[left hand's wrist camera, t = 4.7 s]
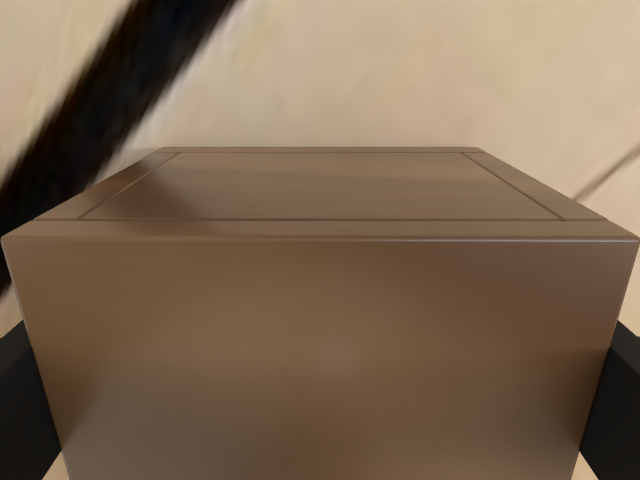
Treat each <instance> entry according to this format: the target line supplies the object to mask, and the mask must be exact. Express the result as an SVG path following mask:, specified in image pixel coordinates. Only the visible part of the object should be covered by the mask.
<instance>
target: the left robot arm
mask: <svg viewBox="0 0 640 480" xmlns="http://www.w3.org/2000/svg"><path fill="white" fill-rule="evenodd" d="M579 451H580V453H581V454H582V456H583V457H584V459H585V460H586V462H587V463H588V465H589V466H590V468H591V469H592V471H593V472H594V474H595V475H596V477H597V478H598V480H640V337H637V336H636V335H635V334H633V333H632V332H631V331H630V330H629V329H628V328H627V327H625V326H624V325H623V324H622V323H621V322H620V321H618V320H617V324H616V327H615V330H614V334H613V337H612V341H611V344H610V348H609V351H608V354H607V358H606V361H605V365H604V368H603V372H602V375H601V378H600V382H599V385H598V389H597V392H596V396H595V399H594V402H593V406H592V409H591V413H590V416H589V420H588V423H587V426H586V430H585V433H584V437H583V440H582V444H581V447H580V450H579ZM60 452H61V447H60V444H59V441H58V437H57V434H56V430H55V427H54V423H53V420H52V416H51V413H50V410H49V406H48V403H47V399H46V396H45V392H44V389H43V386H42V382H41V379H40V375H39V372H38V368H37V365H36V361H35V358H34V355H33V351H32V348H31V344H30V341H29V337H28V334H27V331H26V327H25V324H24V320H22V321H21V322H20V323H19V324H17V325H16V326H15V327H14V328H13V329H12V330H11V331H9V332H8V333H7V334H6V335H5V336H4V337H2V338H0V480H42V479H43V477H44V476H45V474H46V473H47V471H48V470H49V468H50V467H51V465H52V464H53V462H54V461H55V459H56V458H57V456H58V455H59V453H60Z"/></svg>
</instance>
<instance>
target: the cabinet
mask: <svg viewBox="0 0 640 480" xmlns="http://www.w3.org/2000/svg"><path fill="white" fill-rule="evenodd" d="M1 245H2V248H3V251H4V255H5V258H6V262H7V265H8V269H9V272H10V276H11V279H12V282H13V286H14V289H15V293H16V296H17V300H18V303H19V306H20V310H21V313H22V317H23V320H24V324H25V327H26V331H27V334H28V337H29V341H30V344H31V348H32V351H33V355H34V358H35V361H36V365H37V368H38V372H39V375H40V379H41V382H42V386H43V389H44V392H45V396H46V399H47V403H48V406H49V410H50V413H51V416H52V420H53V423H54V427H55V430H56V434H57V437H58V441H59V444H60V447H61V451H62V454H63V458H64V461H65V465H66V468H67V471H68V475H69V478H70V480H571V478H572V474H573V471H574V467H575V464H576V461H577V457H578V454H579V450H580V447H581V444H582V440H583V437H584V433H585V430H586V426H587V423H588V420H589V416H590V413H591V409H592V406H593V402H594V399H595V396H596V392H597V389H598V385H599V382H600V378H601V375H602V372H603V368H604V365H605V361H606V358H607V354H608V351H609V348H610V344H611V341H612V337H613V334H614V330H615V327H616V324H617V320H618V317H619V313H620V310H621V306H622V303H623V300H624V296H625V293H626V289H627V286H628V282H629V279H630V276H631V272H632V269H633V265H634V262H635V259H636V255H637V252H638V248H639V245H640V238H639V237H638V236H636V235H635V234H633V233H631V232H629V231H627V230H626V229H624V228H622V227H620V226H618V225H617V224H615V223H613V222H611V221H609V220H608V219H607V218H605V217H603V216H601V215H599V214H597V213H596V212H594V211H592V210H590V209H588V208H587V207H585V206H583V205H581V204H579V203H578V202H576V201H574V200H572V199H570V198H568V197H567V196H565V195H563V194H561V193H559V192H558V191H556V190H554V189H552V188H550V187H549V186H547V185H545V184H543V183H541V182H539V181H538V180H536V179H534V178H532V177H530V176H529V175H527V174H525V173H523V172H521V171H519V170H518V169H516V168H514V167H512V166H510V165H509V164H507V163H505V162H503V161H501V160H500V159H498V158H496V157H494V156H492V155H490V154H489V153H487V152H485V151H483V150H481V149H479V148H161V149H160V150H158V151H156V152H154V153H153V154H151V155H149V156H147V157H145V158H143V159H142V160H140V161H138V162H136V163H134V164H133V165H131V166H129V167H127V168H125V169H124V170H122V171H120V172H118V173H116V174H114V175H113V176H111V177H109V178H107V179H105V180H104V181H102V182H100V183H98V184H96V185H94V186H93V187H91V188H89V189H87V190H85V191H84V192H82V193H80V194H78V195H76V196H74V197H73V198H71V199H69V200H67V201H65V202H64V203H62V204H60V205H58V206H56V207H55V208H53V209H51V210H49V211H47V212H45V213H44V214H42V215H40V216H38V217H36V218H35V219H33V221H30V222H27V223H26V224H24V225H22V226H20V227H18V228H17V229H15V230H13V231H11V232H9V233H7V234H6V235H4V236H2V237H1Z"/></svg>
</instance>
